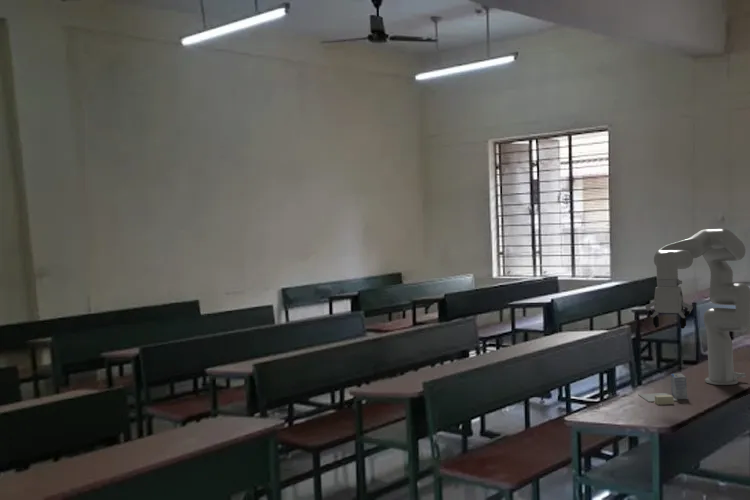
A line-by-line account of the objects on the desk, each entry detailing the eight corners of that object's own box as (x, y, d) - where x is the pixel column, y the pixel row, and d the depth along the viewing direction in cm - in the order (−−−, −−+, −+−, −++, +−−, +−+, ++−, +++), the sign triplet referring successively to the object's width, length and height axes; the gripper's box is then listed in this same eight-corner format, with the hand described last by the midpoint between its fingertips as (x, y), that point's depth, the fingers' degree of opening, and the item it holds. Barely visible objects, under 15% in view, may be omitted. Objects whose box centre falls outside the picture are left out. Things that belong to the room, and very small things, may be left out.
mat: (666, 393, 286) (666, 392, 286) (677, 400, 274) (677, 399, 274) (638, 395, 286) (638, 394, 286) (648, 402, 274) (648, 401, 274)
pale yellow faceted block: (670, 402, 273) (670, 394, 273) (673, 404, 270) (673, 396, 270) (654, 403, 273) (654, 395, 273) (657, 405, 270) (657, 397, 270)
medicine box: (687, 399, 276) (686, 377, 275) (675, 399, 276) (674, 377, 276) (683, 394, 283) (682, 373, 283) (671, 394, 284) (670, 373, 284)
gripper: (694, 282, 271) (696, 327, 272) (647, 282, 282) (649, 325, 282) (688, 284, 266) (691, 329, 266) (641, 284, 276) (643, 328, 276)
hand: (669, 327), depth 274 cm, fingers open, 9 cm apart
